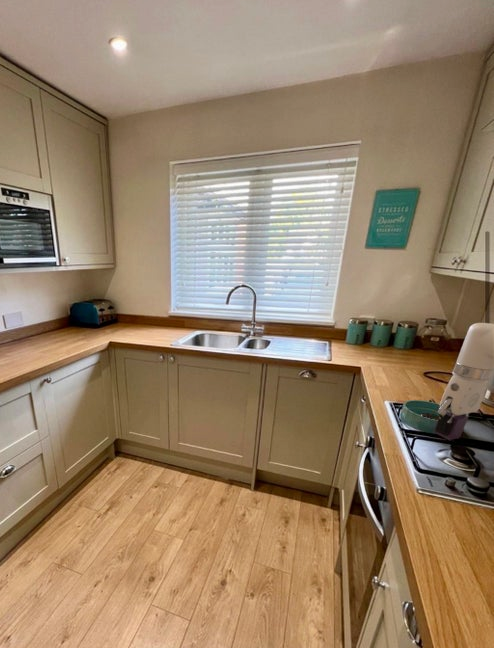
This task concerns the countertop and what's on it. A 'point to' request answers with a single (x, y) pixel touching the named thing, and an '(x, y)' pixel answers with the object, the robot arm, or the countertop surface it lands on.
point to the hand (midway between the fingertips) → (447, 431)
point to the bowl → (413, 414)
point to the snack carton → (454, 427)
